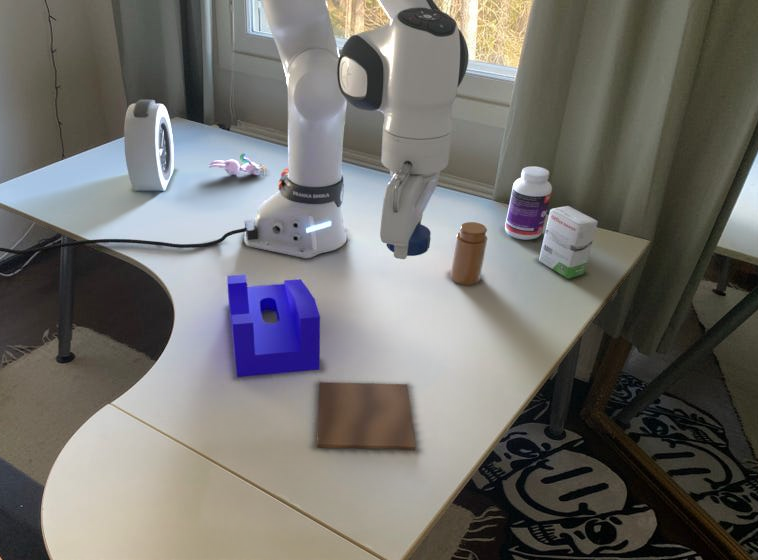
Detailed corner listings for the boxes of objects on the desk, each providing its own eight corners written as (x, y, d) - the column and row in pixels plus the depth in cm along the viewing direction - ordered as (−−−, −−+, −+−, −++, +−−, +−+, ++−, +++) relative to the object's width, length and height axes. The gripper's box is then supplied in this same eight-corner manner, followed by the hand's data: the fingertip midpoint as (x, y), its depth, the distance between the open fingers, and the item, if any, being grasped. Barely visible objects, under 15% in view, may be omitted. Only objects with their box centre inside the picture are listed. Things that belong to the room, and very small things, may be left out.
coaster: (317, 447, 96) (317, 444, 96) (319, 385, 107) (319, 382, 107) (414, 449, 95) (415, 446, 95) (406, 387, 107) (407, 384, 106)
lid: (437, 247, 95) (439, 232, 94) (408, 260, 92) (410, 245, 91) (406, 232, 99) (408, 217, 98) (377, 244, 96) (378, 230, 95)
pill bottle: (542, 243, 145) (557, 180, 136) (504, 240, 146) (517, 177, 137) (539, 227, 151) (554, 165, 142) (503, 223, 152) (515, 162, 144)
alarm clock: (161, 197, 164) (150, 116, 152) (131, 197, 164) (117, 115, 152) (176, 164, 181) (166, 89, 169) (148, 164, 181) (137, 88, 169)
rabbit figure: (263, 173, 179) (207, 167, 176) (266, 151, 176) (209, 145, 173) (265, 182, 175) (208, 176, 171) (268, 160, 171) (209, 154, 168)
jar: (450, 283, 132) (458, 233, 125) (450, 269, 136) (458, 219, 129) (480, 286, 131) (489, 235, 124) (479, 271, 135) (488, 222, 129)
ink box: (585, 274, 134) (600, 220, 127) (566, 279, 133) (581, 225, 125) (555, 255, 141) (568, 203, 133) (536, 260, 139) (549, 208, 132)
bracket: (319, 369, 110) (320, 316, 104) (237, 377, 109) (232, 324, 102) (301, 301, 127) (300, 252, 120) (229, 307, 125) (225, 258, 119)
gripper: (422, 183, 79) (412, 283, 87) (453, 127, 94) (442, 217, 102) (370, 176, 80) (366, 275, 89) (409, 123, 95) (402, 212, 104)
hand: (407, 244), depth 96 cm, fingers closed on lid, 6 cm apart
